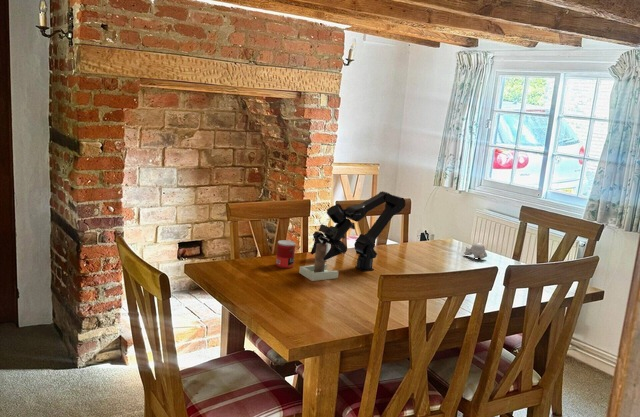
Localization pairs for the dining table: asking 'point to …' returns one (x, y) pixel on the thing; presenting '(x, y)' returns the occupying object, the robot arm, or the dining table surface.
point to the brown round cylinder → (320, 257)
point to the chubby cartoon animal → (476, 250)
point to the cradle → (317, 273)
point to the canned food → (285, 254)
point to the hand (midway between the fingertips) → (317, 256)
